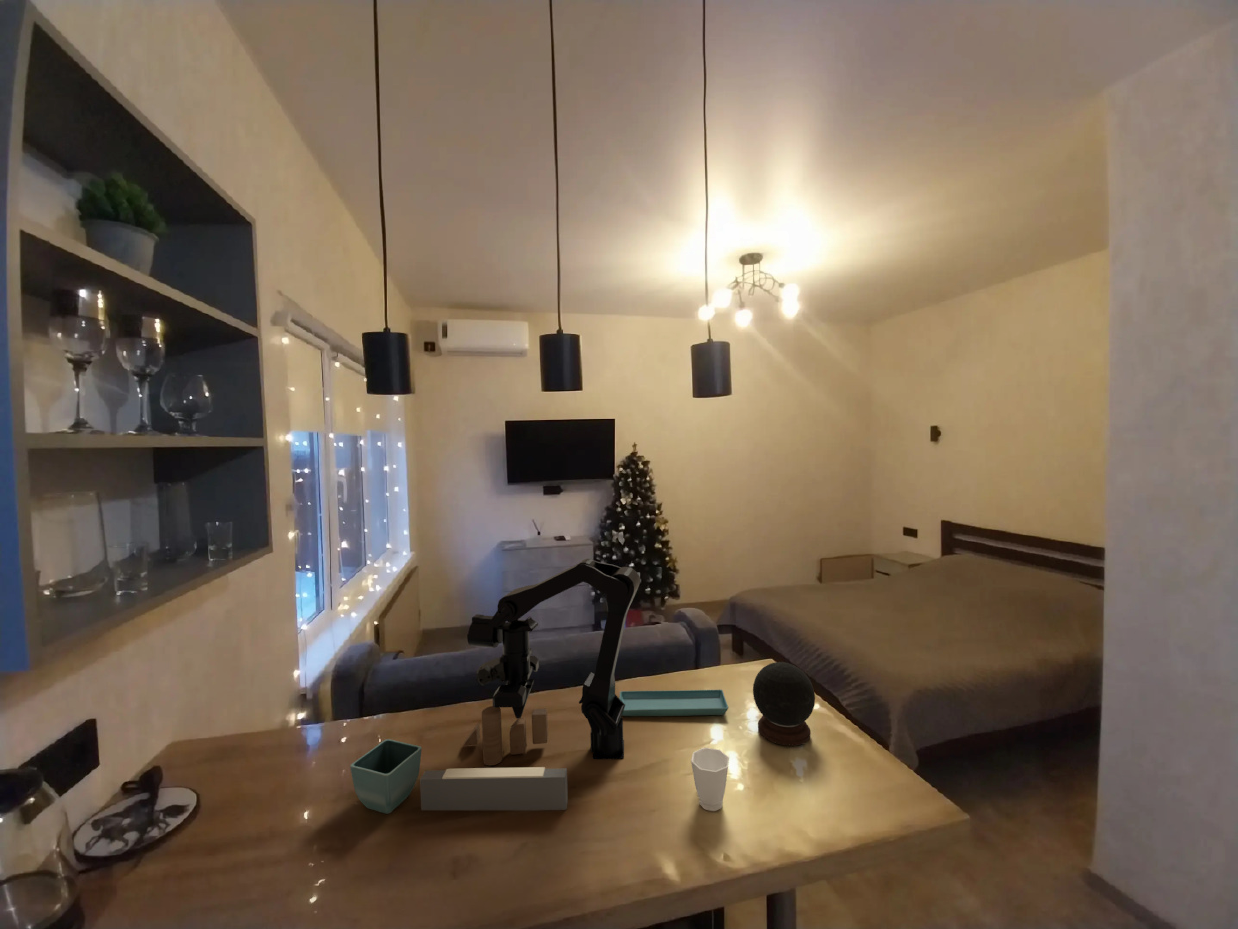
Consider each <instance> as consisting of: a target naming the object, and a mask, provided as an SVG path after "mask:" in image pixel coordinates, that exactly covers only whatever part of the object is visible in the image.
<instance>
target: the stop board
mask: <svg viewBox="0 0 1238 929" xmlns="http://www.w3.org/2000/svg"><path fill="white" fill-rule="evenodd" d="M419 783H420V784H419V786H420V787H419V789H420V807H421V809H420V810H421V811H566V810H567V807H568V801H569V799H568V797H569V796H568V795H569V794H568V769H567V768H546V767H545V766H539V767H538V766H535V767H533V766H532V767H531V766H529V767H528V766H527V767H525V766H524V767H523V766H522V767H475V768H473V767H469V768H468V767H467V768H466V767H465V768H461V767H460V768H446V769H445V770H444V769H443V770H440V769H439V770H438V769H436V770H434V769H433V770H431V769H430V770H425V771H424V773H423V774H422V775H421V777H420V779H419Z"/></svg>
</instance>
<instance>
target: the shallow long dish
mask: <svg viewBox="0 0 1238 929" xmlns="http://www.w3.org/2000/svg"><path fill="white" fill-rule="evenodd" d="M618 698H619V699H620V700H621V701H622V702H623V703H624V704H625V708H624V711H623V713H622V715H621V717H674V716H675V717H679V716H680V717H681V716H684V717H685V716H687V717H688V716H721V715H722V716H724V715H726V713H727V711H728V710H729V706H728V702H727V699H726V697H725V694H724V690H723V689H690V690H689V689H687V690H686V689H684V690H681V689H680V690H621V691H619V697H618Z"/></svg>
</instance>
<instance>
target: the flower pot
mask: <svg viewBox="0 0 1238 929" xmlns="http://www.w3.org/2000/svg"><path fill="white" fill-rule="evenodd" d="M422 749H423V747H422V745H421V746H420V745H416V744H412V743H408V742H403V741H398V740H394V739H392V738H391V739H390V738H386V739H384V740H383V741H381V742H380V743H379V744H377V745H375V747H373V748H372V749H370V750H369V751H368V752H366V753H365V754H363V755H362V756H360V757H359V758H358V759H356V760H355V761H353V762H352V763H351V764H350V765H349V768H350V774H351V778H352V779H351V780H352V784H353V788H354V792H355V794H356V796H357V799H358V800H359V801H360V802H361V803H362V804H363V805H364V807H366V808H367V809H369V810H373V811H375V812H379V813H382V814H386V815H387V814H390V813H392V812H393V811H394V810H395V809H396V808H397V807H399V805H400V804H402V803H403V802H404V801H405V800H406V799H407V798H408V797H409V796H410V794H411V793H412V791H413V789H414V787H415V785H416V783H417V780H418V778H419V773H420V769H421V768H420V767H421V761H422V760H421V757H422Z"/></svg>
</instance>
